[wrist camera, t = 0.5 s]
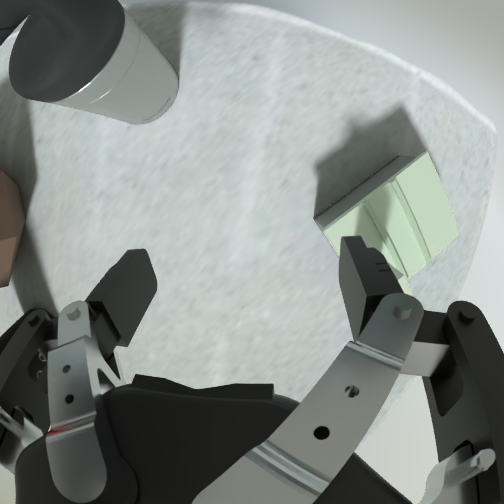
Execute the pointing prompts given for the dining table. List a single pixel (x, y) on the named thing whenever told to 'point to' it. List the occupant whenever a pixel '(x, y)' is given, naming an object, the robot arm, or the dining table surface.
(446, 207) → the lid
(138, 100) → the robot arm
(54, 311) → the dining table surface
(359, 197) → the tub
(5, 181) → the brown faceted pot
